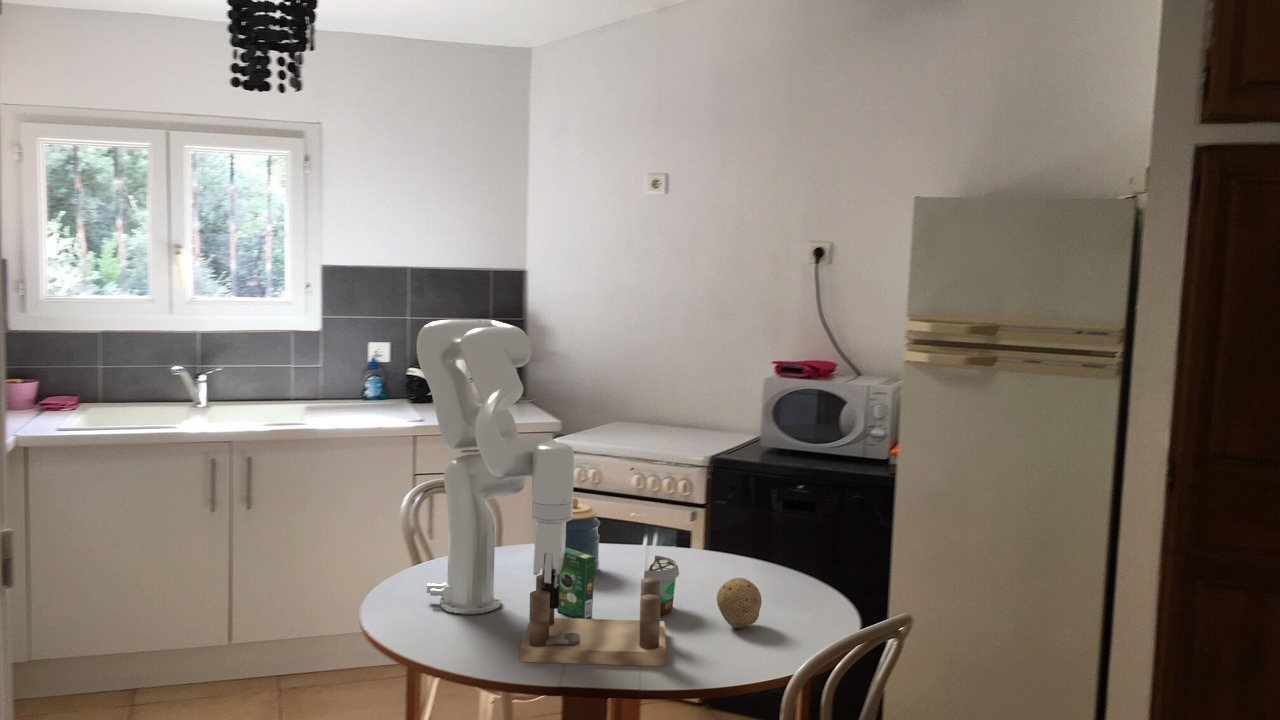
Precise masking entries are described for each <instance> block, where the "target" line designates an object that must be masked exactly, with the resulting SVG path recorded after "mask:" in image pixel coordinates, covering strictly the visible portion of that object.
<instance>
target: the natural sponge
mask: <svg viewBox="0 0 1280 720" xmlns="http://www.w3.org/2000/svg"><path fill="white" fill-rule="evenodd" d="M716 601H717V606H718V609H719V611H720V613H721V616H722V617H723V619H724V620H725V621H726V622H727V624H728V625H729V626H731V627H732V628H735V629H737V630H738V629H740V630H741V629H744V628H746V627H748V626H751V625H753V624H754V623H756V622H757V620H758V619H759V617H760V612H761V611H760V609H761V607H762V595H761V592H760V590H759V588H758V587H757V586H756V585H755V583H753V582H752V581H750V580H748V579H746V578H743V577H733V578H731V579H730V580H727V581H726V582H724V584H722V585H721V586H720V587H719V589H718V591H717V594H716Z"/></svg>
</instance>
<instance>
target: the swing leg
mask: <svg viewBox="0 0 1280 720" xmlns="http://www.w3.org/2000/svg"><path fill="white" fill-rule="evenodd" d="M549 618H550V593H549V592H547V591H542V590H539V591H536V590H533V591H531V592H530V593H529V619H528V620H529V621H528V624H529V643H530V644H531V645H535V646H543V645H551V644H569V645H576V644H579V643H580V634H578V633H567V634H565V635H549Z"/></svg>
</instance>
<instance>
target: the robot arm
mask: <svg viewBox="0 0 1280 720" xmlns="http://www.w3.org/2000/svg"><path fill="white" fill-rule="evenodd" d="M417 335H418V336H417V339H416V355H417V356H416V357H417V361H418V364H419V367H420V369H421V373H422V375H423V377H424V379H425V380H426V383H427V384H428V388H429V390H430V393H431V396H432V401H433V406H434V410H435V414H436V415H435V416H436V419H437V422H438V423H437V424H438V427H439V428H438V429H439V431H440V435H441V436H440V437H441V439H442V442H443V443H444V445H445V446H446V447H447V448H448V449H449V450H453V451H467V450H477V449H478V451H479V453H477V452H476V453H470V454H464V455H463V454H462V455H460V456H456V457H455V458H453V459H451V460H450V461H449V462H447V464H446V466H445V467H444V472H443V483H444V484H443V485H444V489H445V495H446V501H447V502H446V503H447V533H448V534H447V581H446V582H442V584H438V583H427V585H426V593H428V594H429V596H432V597H436V596H438V597H439V596H441V598H440V599H439V607H440V606H441V607H442V608H444V609H445V610H448V611H451V612H455V613H454V614H456V613H463V614H462V615H480V614H479V613H481V614H485V612H486V613H489V611H490V612H493V611H495V610H497V609H498V608H500V607H501V605H502V597H501V596H500V595H499V594H497V593H496V592H495V546H496V545H495V541H496V540H495V537H496V534H495V533H496V525H495V523H496V522H495V518H494V515H493V513H492V512H491V510H490V508H488V506H487V504H486V500H491V499H497V498H502V497H503V498H504V497H508V496H509V497H510V496H515V495H517V494H519V493H521V492H522V491H523V490H524V489H525V486H526V485H527V480H528V478H529V477H532V484H531V487H532V488H531V519H532V520H533V521H535V522H536V524H535V535H534V536H535V537H534V551H533V553H534V555H533V568H532V569H533V571H532V573H533V574H534V576H538V575H540V573H541V575H542V587H541V590H542V591H547V592H549V593H550V609H554V610H557V608H558V606H559V588H560V585H558V584H559V574H560V572H561V569H562V566H563V563H564V555H565V542H566V522H567V521H570V520H572V518H573V497H574V473H575V472H574V470H575V469H574V468H575V465H574V464H575V452H574V448H573V447H572V446H571V445H570V444H568V443H564V442H557V441H556V440H554V439H553V438H552V437H551V436H550V437H549V436H547V435H533V436H521V437H520V435H519V432H518V427H517V425H516V421H515V418H514V415H513V414H512V412H511V410H510V409H509V407H511V406H513V405H514V404H516V403H517V402H518V401H519V399H520V398H521V397H522V395H523V393H524V385H523V383H522V381H521V379H520V376H519V375H518V373H517V370H516V368H521V367H524V366H525V365H528V363H529V361H530V359H531V355H532V345H531V341H530V338H529V337H528V335H527V334H526V333H525V331H523V329H521V328H520V327H519V326H515V325H511V324H508V323H504V322H502V321H498V320H493V319H484V318H483V319H441V320H435V321H431V322H429V323H427V324H425V325H424V326H422V327H421V329H420V330H419V332H418V334H417ZM458 360H459V361H464V363H465V365H466V368H467V370H468V373H469V375H470V377H471V379H472V382H473V384H474V386H475V388H476V391H477V393H478V396H479V397H480V398H479V399H480V400H481V403H480V402H478V401H477V400H476V398H475V394H474V388H473V386H472V382H471V381H470V378H469V377H468V376H467V374H465V372H464V371H463V370H462V369H461V368H460V367H459V366H458V365H457V364H455V363H454V362H455V361H458ZM441 607H440V608H441ZM442 608H441V609H442ZM445 610H444V611H445ZM492 610H493V611H492ZM451 612H450V613H451ZM464 613H466V614H464ZM476 613H478V614H476Z"/></svg>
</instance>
